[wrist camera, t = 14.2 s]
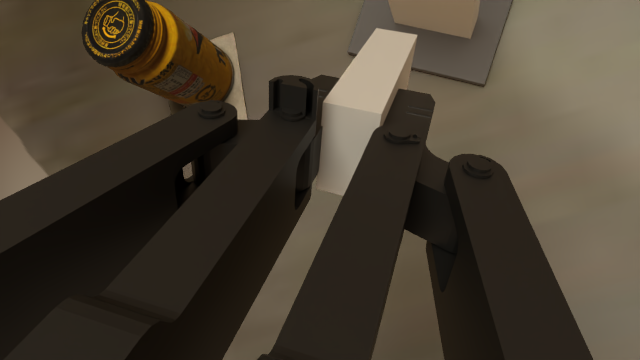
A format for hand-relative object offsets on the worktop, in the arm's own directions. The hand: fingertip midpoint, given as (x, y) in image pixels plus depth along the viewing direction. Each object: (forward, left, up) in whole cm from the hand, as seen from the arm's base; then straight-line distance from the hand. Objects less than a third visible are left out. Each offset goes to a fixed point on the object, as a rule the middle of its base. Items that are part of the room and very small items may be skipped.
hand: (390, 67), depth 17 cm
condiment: (-20, 0, -20) cm, 28 cm away
